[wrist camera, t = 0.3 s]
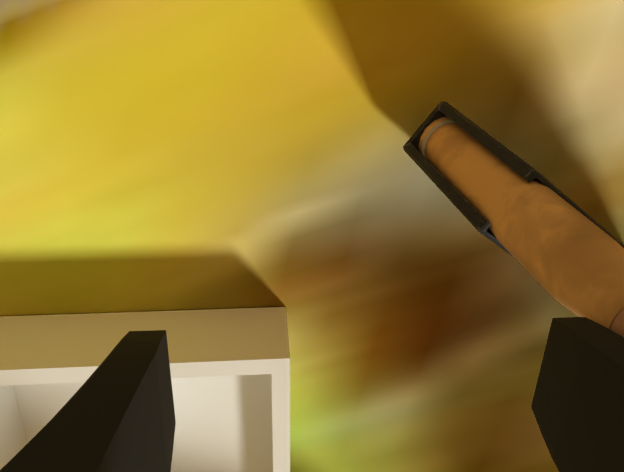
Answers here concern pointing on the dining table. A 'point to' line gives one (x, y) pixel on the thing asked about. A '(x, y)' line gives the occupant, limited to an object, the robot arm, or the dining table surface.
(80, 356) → the trough tray
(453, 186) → the ammunition clip
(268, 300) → the dining table surface
